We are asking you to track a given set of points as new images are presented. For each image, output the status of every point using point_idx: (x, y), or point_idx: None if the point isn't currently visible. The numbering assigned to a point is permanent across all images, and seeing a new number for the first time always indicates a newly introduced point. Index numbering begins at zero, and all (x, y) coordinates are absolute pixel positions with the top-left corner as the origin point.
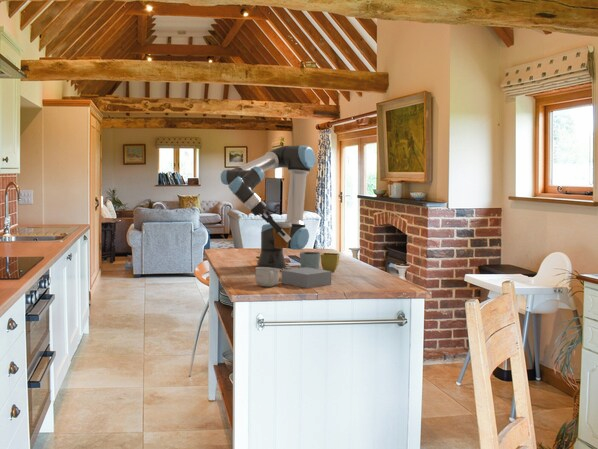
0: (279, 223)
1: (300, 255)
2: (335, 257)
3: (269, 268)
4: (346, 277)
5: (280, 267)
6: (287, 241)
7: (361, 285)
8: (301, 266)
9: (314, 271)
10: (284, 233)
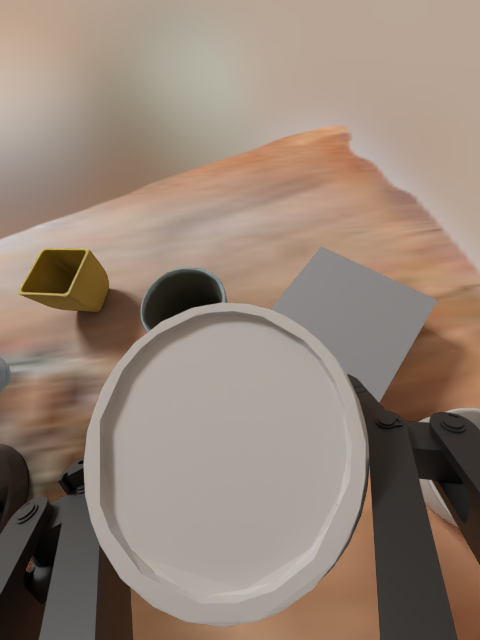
0: (363, 452)
1: None
2: (91, 256)
3: None
4: (192, 252)
5: (22, 461)
6: None
7: (302, 213)
8: None
9: (348, 289)
10: (359, 382)
